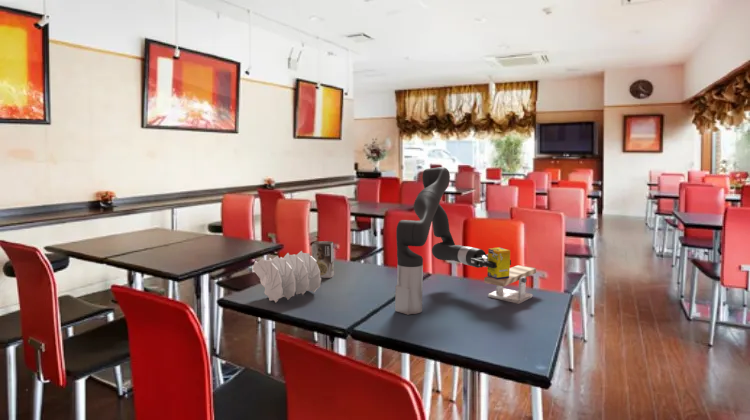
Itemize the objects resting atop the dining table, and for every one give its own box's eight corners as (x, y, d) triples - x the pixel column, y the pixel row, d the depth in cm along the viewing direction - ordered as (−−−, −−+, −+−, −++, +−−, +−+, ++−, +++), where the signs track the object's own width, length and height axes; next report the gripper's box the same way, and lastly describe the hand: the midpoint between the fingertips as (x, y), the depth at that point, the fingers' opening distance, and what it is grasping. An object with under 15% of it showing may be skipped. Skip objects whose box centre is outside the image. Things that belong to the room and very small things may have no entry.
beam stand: (518, 303, 179) (519, 281, 178) (488, 296, 188) (489, 275, 187) (532, 297, 188) (533, 275, 187) (502, 290, 197) (503, 269, 196)
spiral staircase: (320, 302, 193) (269, 313, 175) (297, 277, 203) (246, 285, 185) (334, 266, 186) (282, 274, 168) (309, 241, 197) (258, 247, 179)
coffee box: (334, 274, 222) (334, 241, 220) (331, 278, 215) (331, 243, 213) (315, 274, 223) (315, 240, 221) (312, 277, 216) (311, 243, 214)
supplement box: (486, 276, 181) (487, 248, 179) (499, 274, 183) (500, 247, 182) (497, 279, 175) (498, 251, 174) (509, 278, 178) (510, 249, 176)
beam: (503, 286, 174) (503, 280, 174) (484, 282, 179) (484, 277, 179) (535, 272, 194) (536, 267, 194) (517, 269, 200) (518, 264, 200)
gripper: (459, 249, 186) (490, 256, 173) (483, 245, 194) (515, 252, 181) (458, 267, 187) (490, 276, 174) (483, 263, 195) (514, 271, 182)
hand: (503, 264), depth 177 cm, fingers open, 8 cm apart
